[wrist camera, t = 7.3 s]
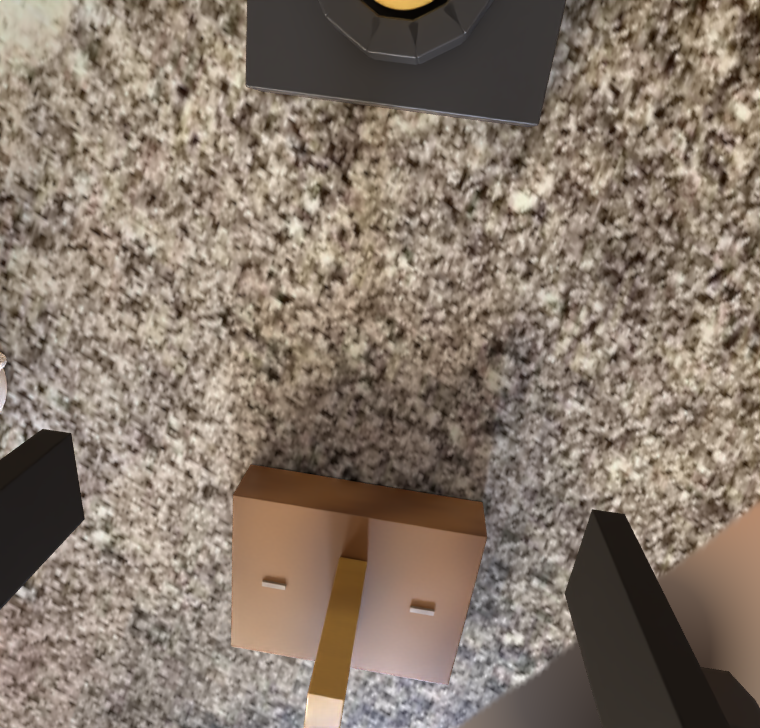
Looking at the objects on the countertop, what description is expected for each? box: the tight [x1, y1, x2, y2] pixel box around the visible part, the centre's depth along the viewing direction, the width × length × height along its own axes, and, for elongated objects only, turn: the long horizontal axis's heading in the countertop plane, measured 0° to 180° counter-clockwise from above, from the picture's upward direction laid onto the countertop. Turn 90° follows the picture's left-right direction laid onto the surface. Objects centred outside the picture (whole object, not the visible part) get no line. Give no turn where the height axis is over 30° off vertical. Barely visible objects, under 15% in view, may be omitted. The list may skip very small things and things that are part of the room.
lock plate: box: [231, 464, 487, 685], centre depth 32 cm, size 14×12×3 cm
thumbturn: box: [304, 557, 367, 728], centre depth 27 cm, size 6×2×8 cm, turn 172°
